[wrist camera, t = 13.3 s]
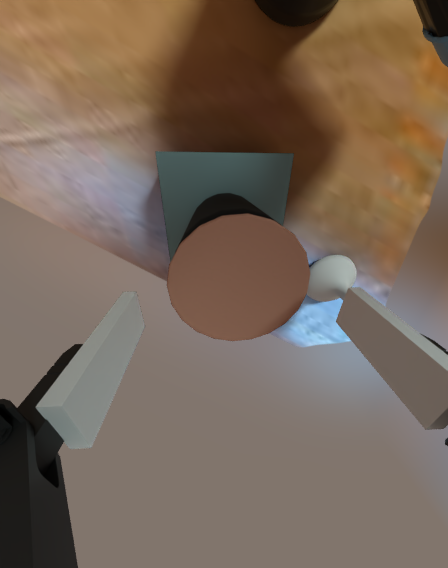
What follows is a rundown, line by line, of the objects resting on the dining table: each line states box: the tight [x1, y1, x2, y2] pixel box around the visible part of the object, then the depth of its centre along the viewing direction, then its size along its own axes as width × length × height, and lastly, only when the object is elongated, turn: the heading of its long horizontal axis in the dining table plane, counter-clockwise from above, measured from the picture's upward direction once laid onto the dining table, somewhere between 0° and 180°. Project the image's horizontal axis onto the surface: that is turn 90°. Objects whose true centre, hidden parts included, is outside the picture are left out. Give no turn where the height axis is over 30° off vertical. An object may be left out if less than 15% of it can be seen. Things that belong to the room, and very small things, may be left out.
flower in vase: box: [307, 255, 356, 302], centre depth 34 cm, size 13×11×25 cm
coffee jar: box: [167, 193, 310, 341], centre depth 22 cm, size 11×11×18 cm
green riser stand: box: [156, 152, 294, 262], centre depth 34 cm, size 20×18×8 cm
